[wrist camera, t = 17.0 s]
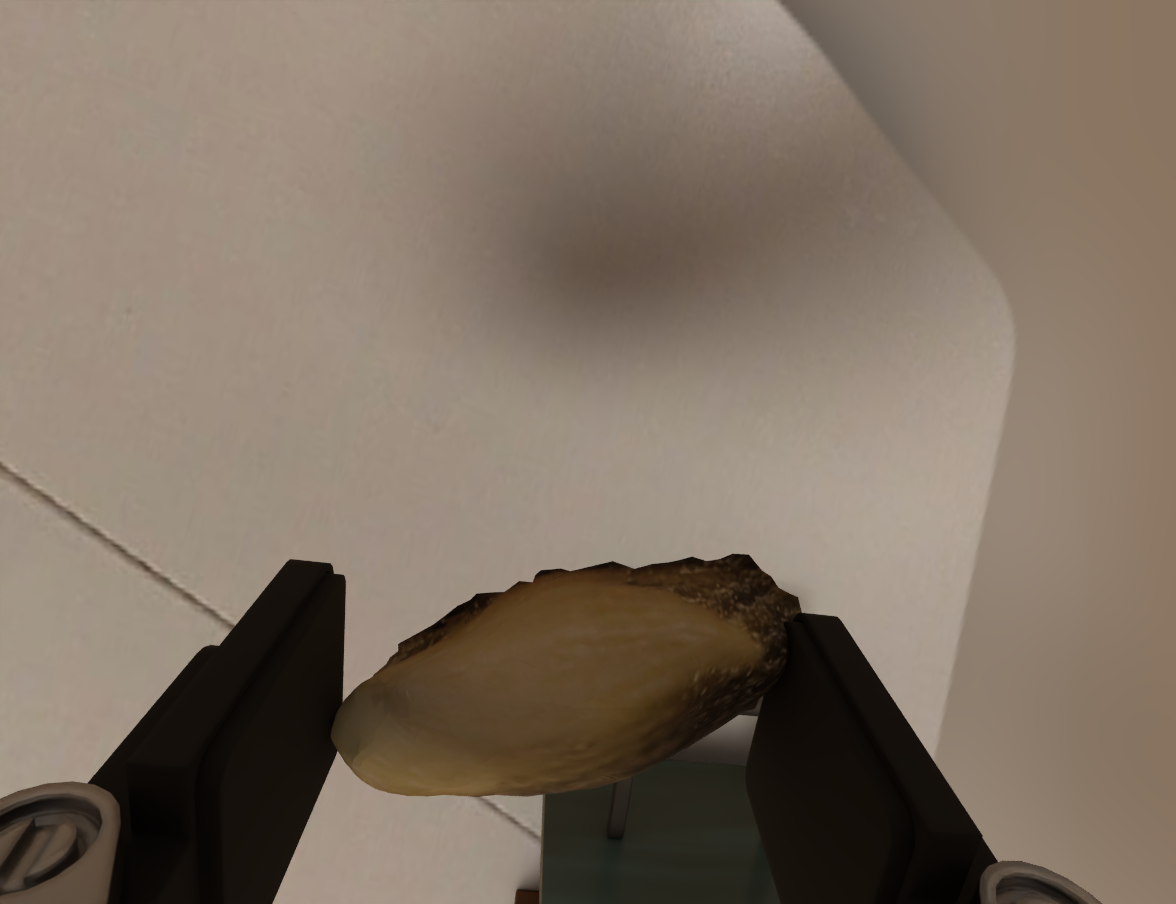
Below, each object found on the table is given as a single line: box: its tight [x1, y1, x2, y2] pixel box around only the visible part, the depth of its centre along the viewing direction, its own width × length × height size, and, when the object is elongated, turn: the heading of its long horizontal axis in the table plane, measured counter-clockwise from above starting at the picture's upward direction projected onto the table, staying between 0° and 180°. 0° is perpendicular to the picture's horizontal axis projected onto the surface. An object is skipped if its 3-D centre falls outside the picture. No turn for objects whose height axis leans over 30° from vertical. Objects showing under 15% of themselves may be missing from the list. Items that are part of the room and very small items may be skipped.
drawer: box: [539, 695, 781, 904], centre depth 29 cm, size 21×11×7 cm, turn 173°
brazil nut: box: [331, 554, 802, 797], centre depth 10 cm, size 6×5×3 cm
